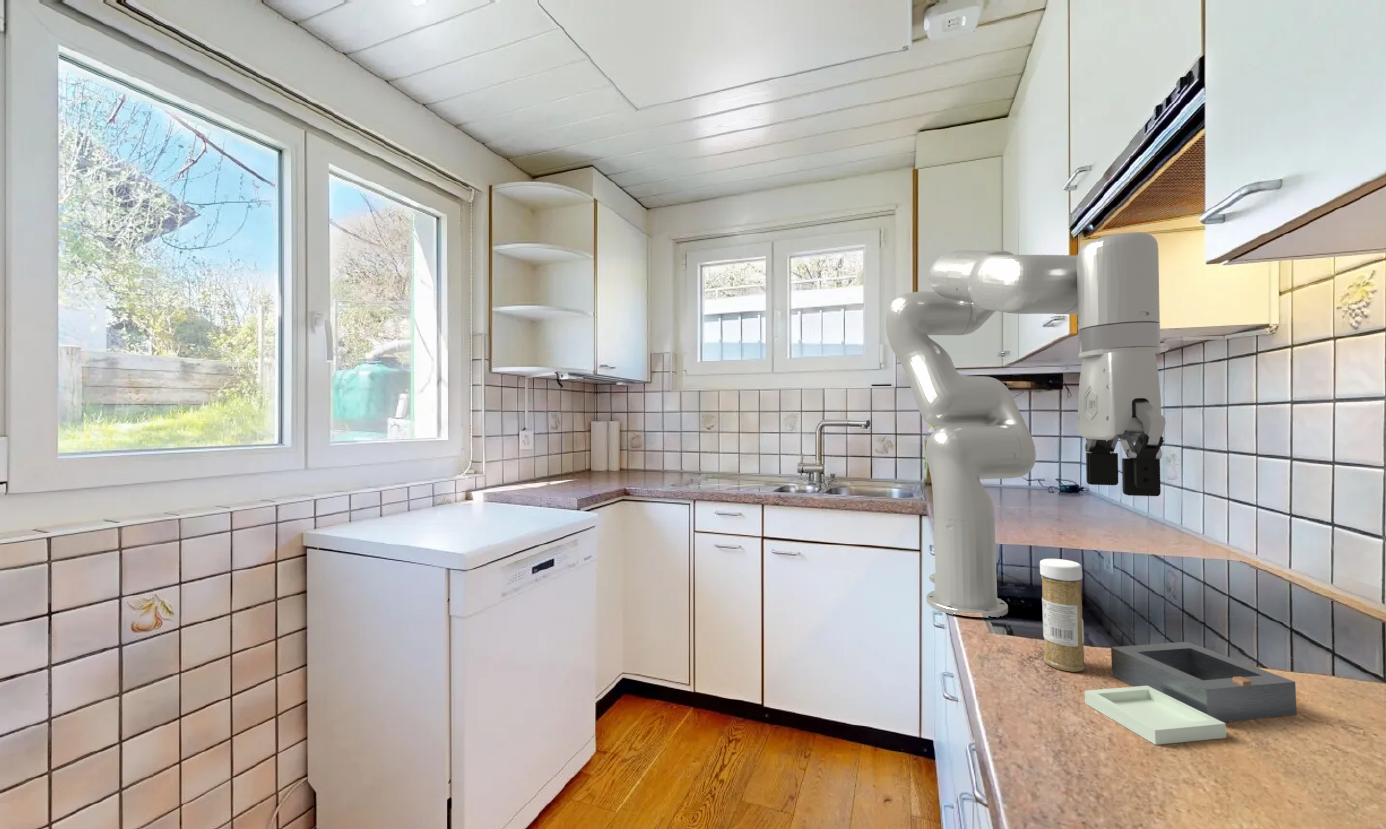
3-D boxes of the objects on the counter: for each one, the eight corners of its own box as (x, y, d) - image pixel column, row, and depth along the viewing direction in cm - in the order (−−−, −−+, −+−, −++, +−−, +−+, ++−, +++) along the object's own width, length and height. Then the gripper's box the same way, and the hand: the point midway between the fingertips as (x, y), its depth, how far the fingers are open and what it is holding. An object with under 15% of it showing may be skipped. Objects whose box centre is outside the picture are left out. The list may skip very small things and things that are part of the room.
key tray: (1085, 703, 60) (1084, 690, 60) (1147, 698, 61) (1147, 685, 61) (1155, 744, 52) (1154, 730, 52) (1226, 737, 53) (1225, 723, 53)
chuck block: (1112, 675, 66) (1110, 644, 67) (1188, 669, 68) (1187, 639, 68) (1207, 723, 56) (1206, 686, 56) (1296, 715, 57) (1295, 679, 57)
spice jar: (1091, 667, 69) (1088, 562, 69) (1076, 676, 66) (1072, 568, 67) (1052, 655, 73) (1049, 556, 73) (1036, 663, 70) (1033, 560, 71)
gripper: (1055, 353, 72) (1057, 480, 72) (1112, 334, 55) (1115, 499, 55) (1121, 351, 69) (1124, 482, 69) (1202, 330, 53) (1206, 502, 53)
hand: (1120, 489), depth 62 cm, fingers open, 9 cm apart
